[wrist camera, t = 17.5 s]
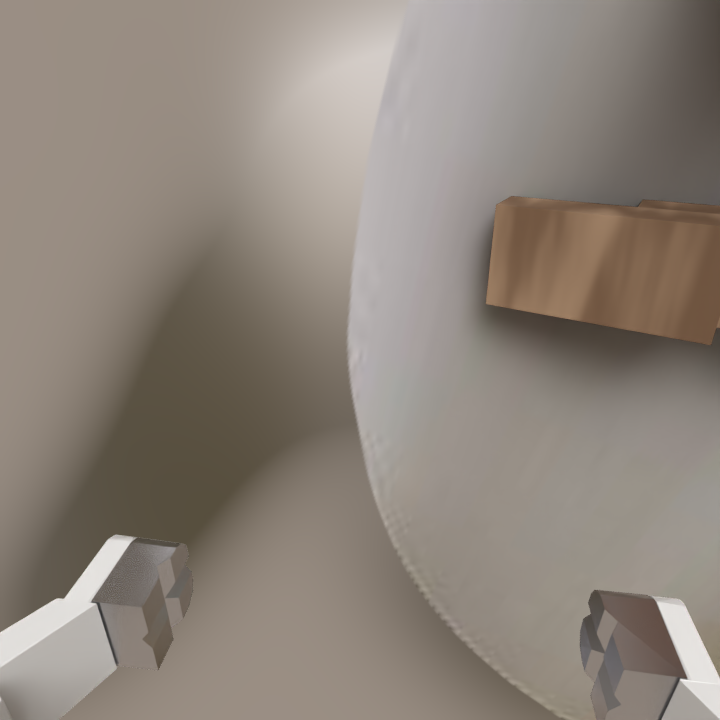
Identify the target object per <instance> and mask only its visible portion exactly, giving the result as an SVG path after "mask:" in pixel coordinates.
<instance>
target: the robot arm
mask: <svg viewBox="0 0 720 720" xmlns="http://www.w3.org/2000/svg"><path fill="white" fill-rule="evenodd" d="M188 557H189V555H188V551H187V547H186V545H185V544H181V543H174V542H167V541H160V540H153V539H146V538H139V537H130V536H121V535H114V536H112V537H111V538H109V539H108V540H107V541H106V543H105V544H104V545H103V547H102V548H101V550H100V551H99V552H98V554H97V555H96V556H95V558H94V559H93V560H92V562H91V563H90V564H89V566H88V567H87V568H86V570H85V571H84V573H83V574H82V575H81V577H80V578H79V579H78V581H77V582H76V583H75V585H74V586H73V587H72V589H71V590H70V592H69V593H68V595H67V596H66V597H65V598H64V599H59V598H57V599H55V600H53V601H52V602H50V603H49V604H47V605H45V606H43V607H42V608H40V609H39V610H37V611H35V612H34V613H32V614H30V615H29V616H27V617H25V618H24V619H22V620H20V621H19V622H17V623H15V624H14V625H12V626H10V627H9V628H7V629H5V630H4V631H2V632H0V720H59V719H60V718H61V717H63V716H64V715H65V714H66V713H67V712H68V711H69V710H70V709H71V708H73V707H74V706H75V705H76V704H77V703H78V702H79V701H80V700H82V699H83V698H84V697H85V696H86V695H87V694H89V693H90V692H91V691H92V690H93V689H94V688H95V687H96V686H98V685H99V684H100V683H101V682H102V681H103V680H104V679H106V678H107V677H108V676H109V675H110V674H111V673H112V672H113V671H115V670H116V668H117V666H124V667H133V668H142V669H152V670H159V668H160V666H161V664H162V662H163V660H164V657H165V656H166V653H167V651H168V649H169V647H170V645H171V643H172V641H173V635H172V630H171V628H172V627H173V626H174V625H176V624H177V623H178V622H180V621H181V620H182V619H183V618H184V616H185V614H186V612H187V610H188V607H189V605H190V600H191V597H192V592H193V576H192V571H191V570H190V569H189V568H188V567H186V565H185V563H186V561H187V559H188ZM588 604H589V608H590V612H591V614H590V615H588V616H587V617H585V618H583V622H582V626H581V630H580V651H581V659H582V663H583V667H584V671H585V673H586V674H587V675H588V676H589V677H590V678H591V679H592V680H593V681H594V686H593V689H592V692H591V695H590V696H591V700H592V704H593V708H594V712H595V716H596V720H720V677H719V675H718V673H717V671H716V669H715V667H714V665H713V663H712V661H711V659H710V657H709V655H708V652H707V650H706V648H705V646H704V644H703V642H702V640H701V638H700V636H699V634H698V632H697V629H696V627H695V625H694V623H693V621H692V619H691V617H690V615H689V613H688V611H687V609H686V606H685V604H684V603H683V602H682V601H681V600H680V599H675V598H666V597H657V596H648V595H642V594H632V593H622V592H612V591H603V590H594V591H593V592H592V593H591V595H590V598H589V602H588Z"/></svg>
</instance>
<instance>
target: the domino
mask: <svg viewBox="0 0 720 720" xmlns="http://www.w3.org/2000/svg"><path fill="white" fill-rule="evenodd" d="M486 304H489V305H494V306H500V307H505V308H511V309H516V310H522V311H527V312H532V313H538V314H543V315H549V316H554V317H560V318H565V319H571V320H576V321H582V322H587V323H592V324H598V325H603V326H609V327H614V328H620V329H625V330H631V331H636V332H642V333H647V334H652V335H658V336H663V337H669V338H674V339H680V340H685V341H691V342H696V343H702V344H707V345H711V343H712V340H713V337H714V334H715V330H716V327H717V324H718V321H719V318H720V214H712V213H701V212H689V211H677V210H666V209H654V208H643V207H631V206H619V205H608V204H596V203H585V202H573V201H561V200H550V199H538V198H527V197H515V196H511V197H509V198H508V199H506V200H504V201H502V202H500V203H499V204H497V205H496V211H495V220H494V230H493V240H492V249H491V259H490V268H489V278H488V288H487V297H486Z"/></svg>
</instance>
